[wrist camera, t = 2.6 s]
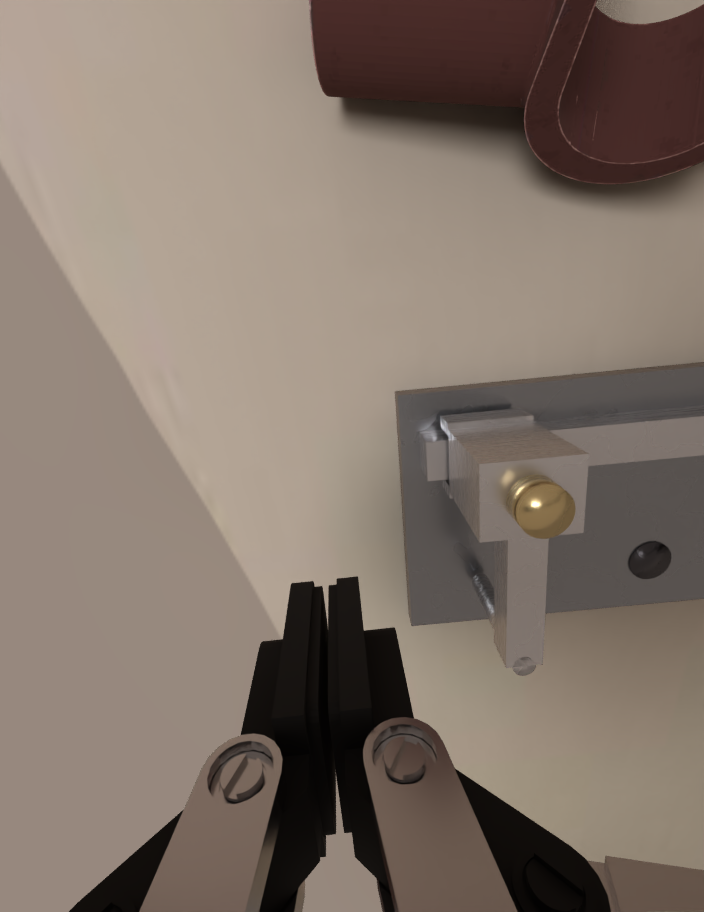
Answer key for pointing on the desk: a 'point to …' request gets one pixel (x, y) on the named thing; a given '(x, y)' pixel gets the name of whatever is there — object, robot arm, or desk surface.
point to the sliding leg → (515, 516)
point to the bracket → (532, 74)
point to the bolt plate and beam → (607, 497)
